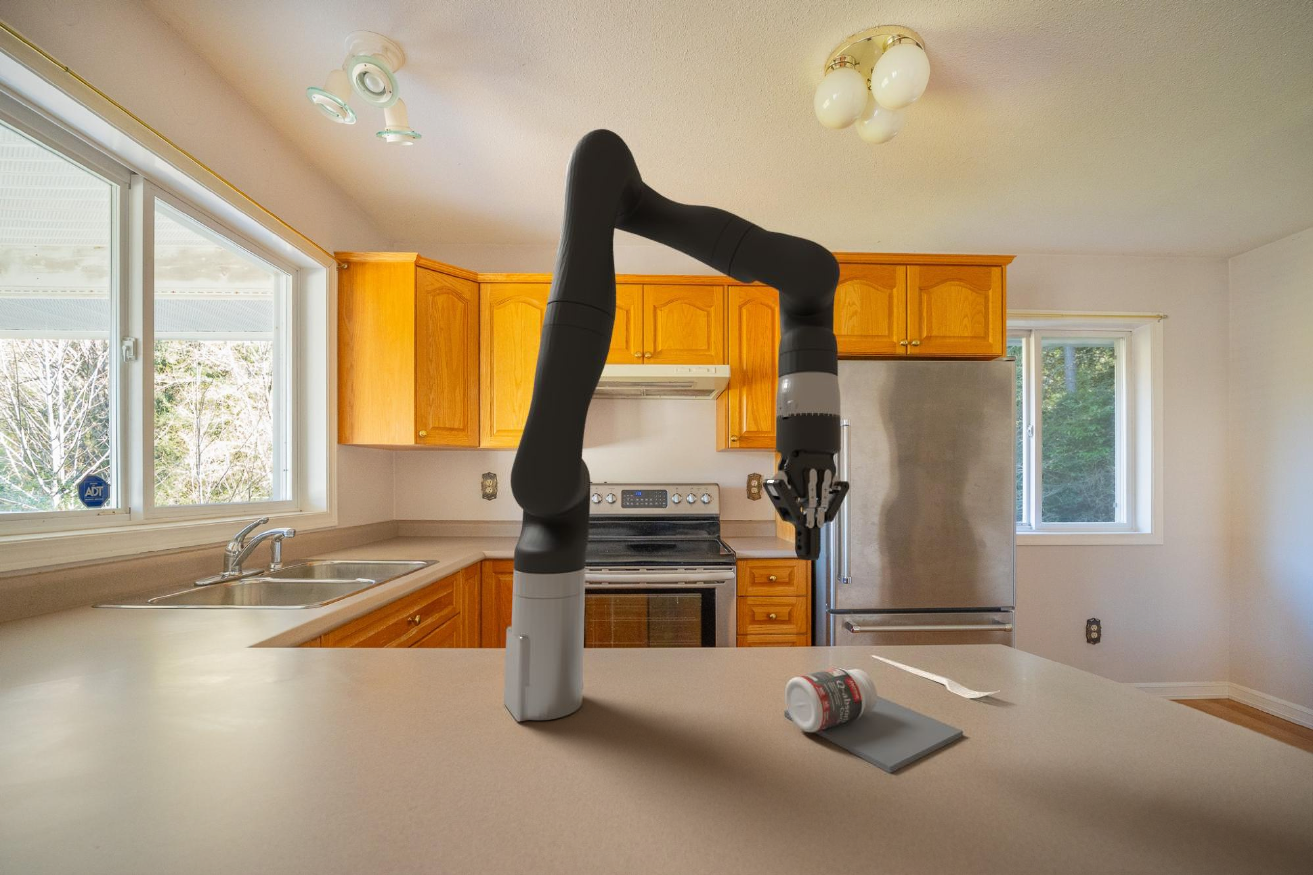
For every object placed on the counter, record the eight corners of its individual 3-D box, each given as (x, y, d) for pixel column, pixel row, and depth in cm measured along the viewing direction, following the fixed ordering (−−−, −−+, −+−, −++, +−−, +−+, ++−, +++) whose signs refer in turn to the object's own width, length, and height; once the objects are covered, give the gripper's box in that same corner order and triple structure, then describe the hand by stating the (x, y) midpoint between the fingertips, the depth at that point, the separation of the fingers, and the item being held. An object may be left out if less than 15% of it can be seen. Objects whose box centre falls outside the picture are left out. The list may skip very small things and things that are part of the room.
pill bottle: (816, 686, 54) (879, 671, 59) (781, 671, 59) (842, 657, 64) (819, 742, 54) (883, 722, 58) (784, 722, 59) (845, 705, 63)
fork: (878, 658, 84) (878, 647, 84) (1003, 704, 66) (1002, 689, 66) (864, 661, 82) (864, 649, 83) (988, 708, 64) (987, 693, 65)
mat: (889, 773, 49) (889, 766, 49) (784, 716, 61) (784, 711, 61) (963, 736, 57) (962, 730, 57) (856, 691, 69) (856, 687, 69)
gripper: (820, 422, 67) (820, 552, 66) (745, 412, 60) (744, 557, 59) (869, 416, 61) (870, 560, 59) (792, 405, 54) (791, 568, 52)
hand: (807, 559), depth 59 cm, fingers closed
